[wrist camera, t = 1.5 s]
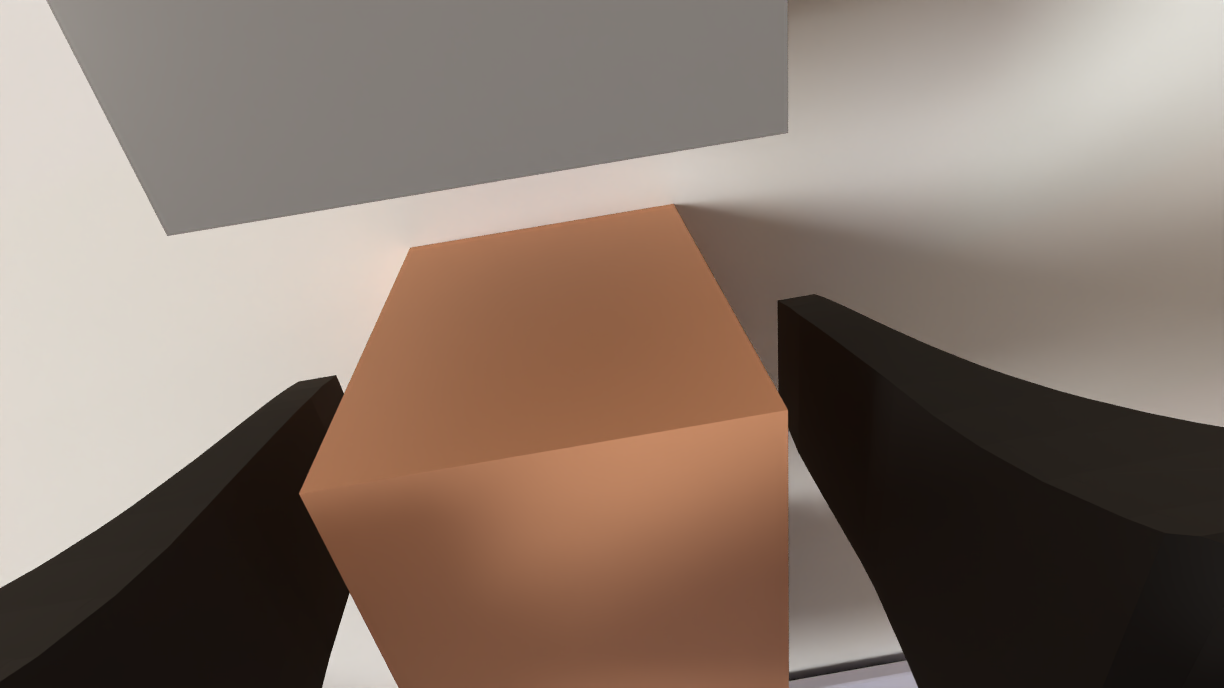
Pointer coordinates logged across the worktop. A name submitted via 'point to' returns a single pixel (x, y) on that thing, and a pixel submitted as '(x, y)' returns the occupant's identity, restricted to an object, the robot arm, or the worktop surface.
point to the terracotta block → (562, 468)
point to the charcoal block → (413, 92)
